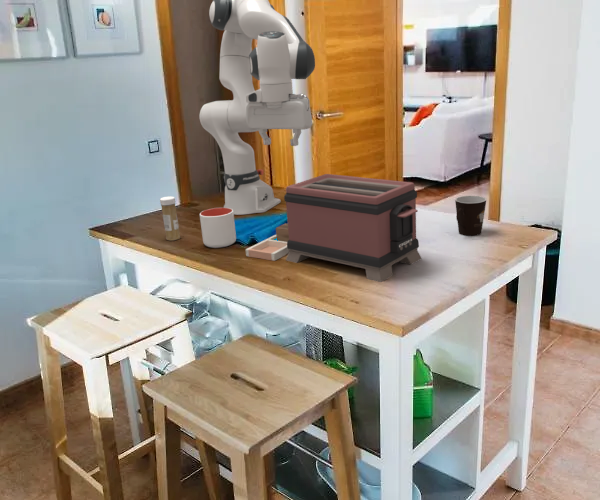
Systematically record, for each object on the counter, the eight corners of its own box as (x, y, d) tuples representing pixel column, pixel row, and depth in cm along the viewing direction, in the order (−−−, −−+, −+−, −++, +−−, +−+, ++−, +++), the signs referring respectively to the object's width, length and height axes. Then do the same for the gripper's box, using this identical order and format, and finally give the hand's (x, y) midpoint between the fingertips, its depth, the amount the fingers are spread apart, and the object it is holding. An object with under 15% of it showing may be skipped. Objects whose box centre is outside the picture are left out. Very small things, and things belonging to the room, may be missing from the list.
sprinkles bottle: (182, 238, 190) (176, 197, 186) (169, 242, 188) (162, 200, 184) (177, 235, 194) (171, 195, 190) (163, 238, 192) (157, 197, 187)
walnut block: (286, 239, 181) (285, 223, 180) (300, 241, 178) (299, 225, 177) (277, 244, 177) (275, 227, 176) (291, 246, 175) (289, 229, 173)
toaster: (391, 285, 143) (389, 201, 136) (285, 260, 164) (279, 187, 158) (431, 260, 156) (431, 183, 149) (328, 241, 178) (324, 172, 171)
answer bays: (284, 236, 184) (284, 230, 184) (312, 240, 179) (311, 234, 178) (246, 256, 170) (245, 249, 169) (274, 260, 164) (274, 253, 164)
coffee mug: (472, 226, 180) (473, 194, 177) (491, 233, 173) (492, 199, 170) (440, 233, 176) (440, 200, 173) (458, 241, 169) (458, 206, 166)
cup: (241, 238, 186) (237, 207, 183) (229, 249, 177) (225, 216, 173) (211, 238, 189) (207, 207, 185) (198, 248, 179) (193, 216, 176)
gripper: (314, 92, 161) (318, 144, 165) (254, 93, 172) (259, 142, 176) (301, 94, 156) (305, 148, 160) (240, 96, 167) (245, 146, 172)
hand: (280, 145), depth 168 cm, fingers open, 8 cm apart
